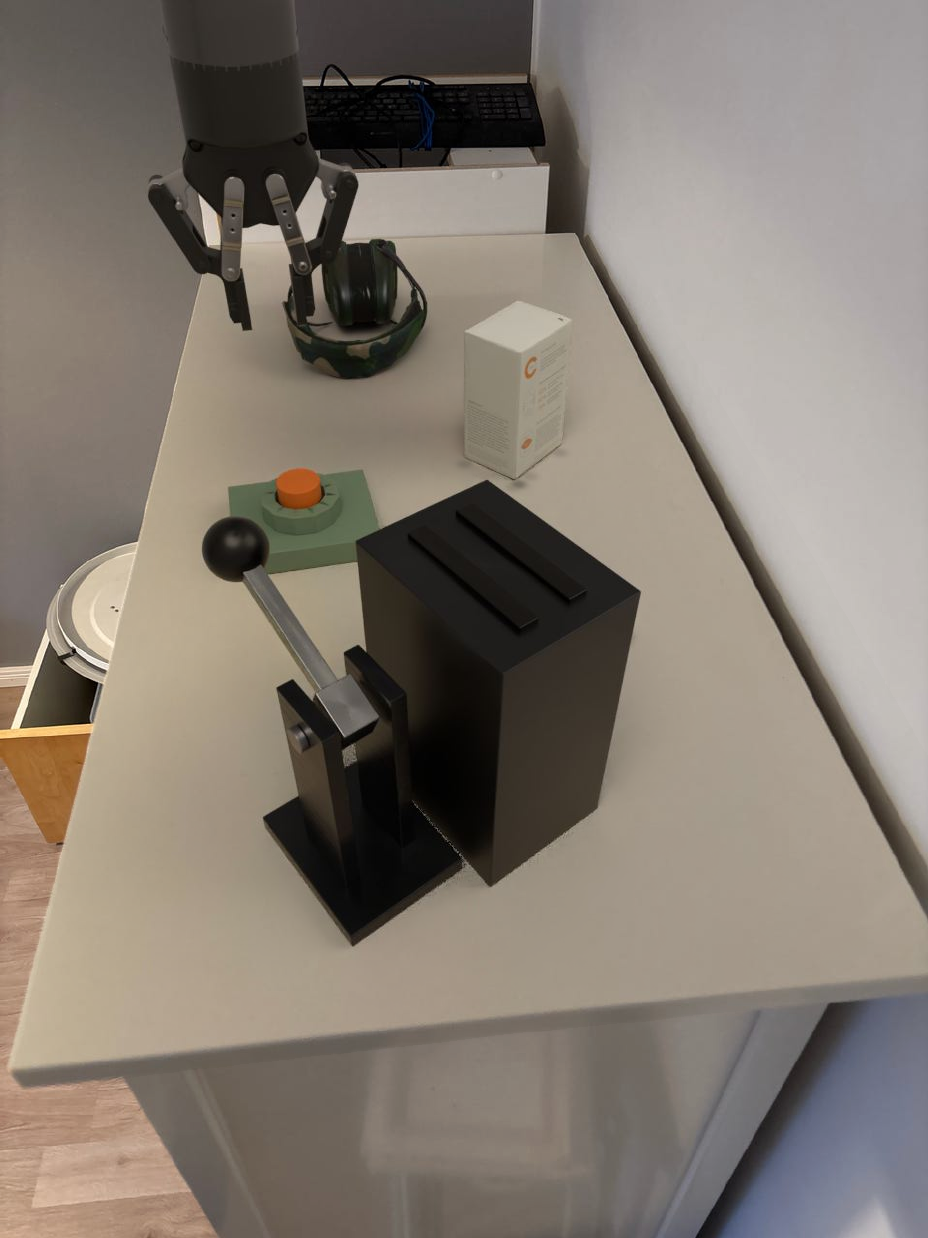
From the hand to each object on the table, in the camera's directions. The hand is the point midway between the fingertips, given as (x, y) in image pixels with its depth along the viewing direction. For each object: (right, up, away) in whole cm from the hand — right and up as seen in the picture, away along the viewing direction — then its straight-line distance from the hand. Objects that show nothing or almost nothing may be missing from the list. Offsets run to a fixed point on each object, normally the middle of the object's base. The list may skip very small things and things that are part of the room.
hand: (274, 321), depth 64 cm
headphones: (+2, +11, +39) cm, 40 cm away
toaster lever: (+4, -23, -15) cm, 27 cm away
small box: (+18, -5, +23) cm, 30 cm away
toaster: (+15, -32, -5) cm, 36 cm away
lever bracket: (+7, -35, -9) cm, 37 cm away
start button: (0, -11, +11) cm, 16 cm away
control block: (0, -14, +13) cm, 19 cm away
